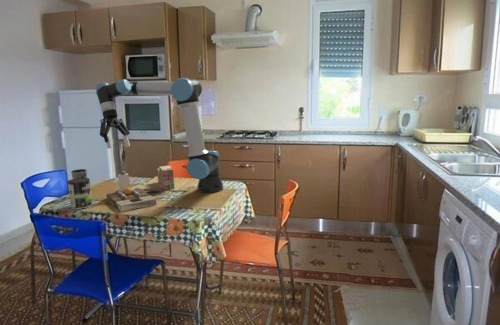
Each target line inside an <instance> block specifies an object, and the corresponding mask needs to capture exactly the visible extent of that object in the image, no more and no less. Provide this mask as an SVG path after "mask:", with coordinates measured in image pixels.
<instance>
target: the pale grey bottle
mask: <svg viewBox="0 0 500 325" xmlns="http://www.w3.org/2000/svg"><path fill="white" fill-rule="evenodd" d="M117 180H118V190H119V191H120V192H122V193H124V189H125V188H127V187H129V188H131V184H130V177H129V173H127V172H126V171H125V170H121V171H120V173H119V174H117Z"/></svg>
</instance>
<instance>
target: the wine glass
mask: <svg viewBox="0 0 500 325" xmlns="http://www.w3.org/2000/svg"><path fill="white" fill-rule="evenodd" d="M70 173H71V178H72V179H77V178H88V171H87V169H86V168H79V169H74V170H71V172H70Z"/></svg>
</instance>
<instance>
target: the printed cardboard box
mask: <svg viewBox="0 0 500 325" xmlns="http://www.w3.org/2000/svg"><path fill="white" fill-rule="evenodd" d="M158 167H159V168H156V172H157V181H158V184H159V185H160V186H161V187H162V189H163V190H164V191H167V190H174V189H175V181H174V179H175V176H174V175H175V174H174V169H173V167H172V166H170V165H164V166H163V165H161V166H158Z"/></svg>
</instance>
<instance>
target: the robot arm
mask: <svg viewBox="0 0 500 325" xmlns="http://www.w3.org/2000/svg"><path fill="white" fill-rule="evenodd" d="M202 90H203V87H202V84H201V82H200V81H199V80H197V79H196V78H193V77H178V78H177V79H175V80H174V81H129V80H127V79H125V78H123V79H119V80H117V81H115V82H112V83H110V84H109V83H108V82H100V83H97V84H96V85H95V93H96V95H97V99H98V102H99V106H100V111H101V112H102V113H101V114H102V117H103V118H102V119H100V130H99V136H100V137H101V138H103V140H104V142H105V144H106V148H107V149H111V148H113V145H112V142H111V139H110V135H108V134H109V133H110V130H111V128H115V129H117V130H118V132H120V133H121V134H122V135H123V136H122V138H123V142H124V144H125V148H129V147H130V146H131V144H130V139H129V134H131V132H130V130H129V129H128V128H127V126H126V124H125V122H124V121H123V119H122V118H119V119H118V115H119V114H118V111H117V109H116V108H117V107H116V104H115V101H114V99H115V98H117V97H120V96H128V95H131V96H143V95H144V96H172V98H173V99H175V101H176V105H177V107H179V109H180V110H181V115H182V121H183V126H184V131H185V134H186V135H185V136H186V140H187V146H188V150H189V153H188V155H187V158H188V162H187V166H186V169H187V170H186V171H187V173H188V174H189V175H190V177H192V178H194V179H196V180H198V182H197V191H198V192H200V193H217V192H220V191H222V190H223V189H224V184H223V181H222V178H221V176H220V172H221V171H220V154H219V151H218V150H207V149H206V146H205V140H204V135H203V130H202V126H201V121H200V116H199V115H200V114H199V110H198V106H197V105H198V104H199V102H200V101H199V97H200V96H201V95H202V92H203V91H202Z"/></svg>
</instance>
